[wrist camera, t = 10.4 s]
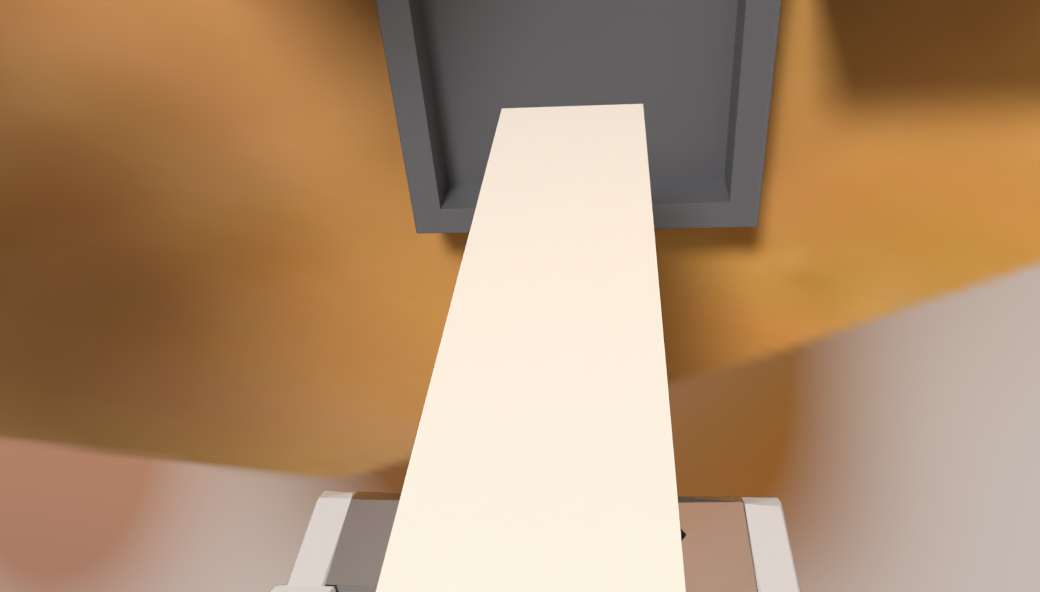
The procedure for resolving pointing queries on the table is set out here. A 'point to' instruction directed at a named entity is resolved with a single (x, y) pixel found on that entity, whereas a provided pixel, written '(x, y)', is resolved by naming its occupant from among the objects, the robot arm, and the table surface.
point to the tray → (586, 93)
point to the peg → (549, 379)
